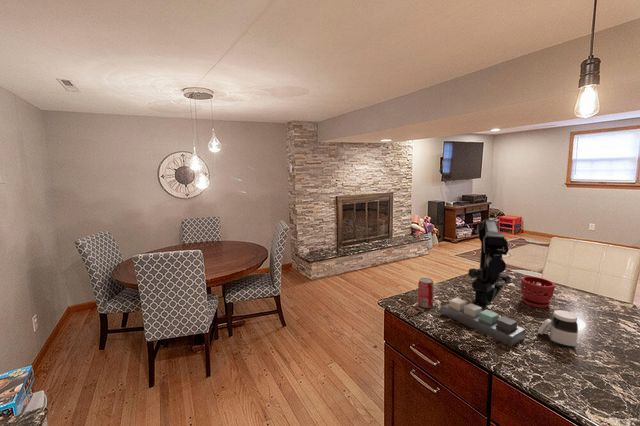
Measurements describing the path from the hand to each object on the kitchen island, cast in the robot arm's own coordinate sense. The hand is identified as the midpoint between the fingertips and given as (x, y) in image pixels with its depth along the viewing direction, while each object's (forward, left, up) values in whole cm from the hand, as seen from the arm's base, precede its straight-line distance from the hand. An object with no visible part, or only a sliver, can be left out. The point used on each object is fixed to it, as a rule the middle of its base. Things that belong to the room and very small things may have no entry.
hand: (490, 301), depth 122 cm
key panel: (0, -3, -12) cm, 12 cm away
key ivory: (0, -14, -9) cm, 17 cm away
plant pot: (-43, 0, -12) cm, 45 cm away
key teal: (0, 0, -9) cm, 9 cm away
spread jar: (-14, +19, -12) cm, 26 cm away
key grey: (0, -7, -9) cm, 12 cm away
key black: (0, +7, -9) cm, 12 cm away
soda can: (+4, -28, -12) cm, 31 cm away
